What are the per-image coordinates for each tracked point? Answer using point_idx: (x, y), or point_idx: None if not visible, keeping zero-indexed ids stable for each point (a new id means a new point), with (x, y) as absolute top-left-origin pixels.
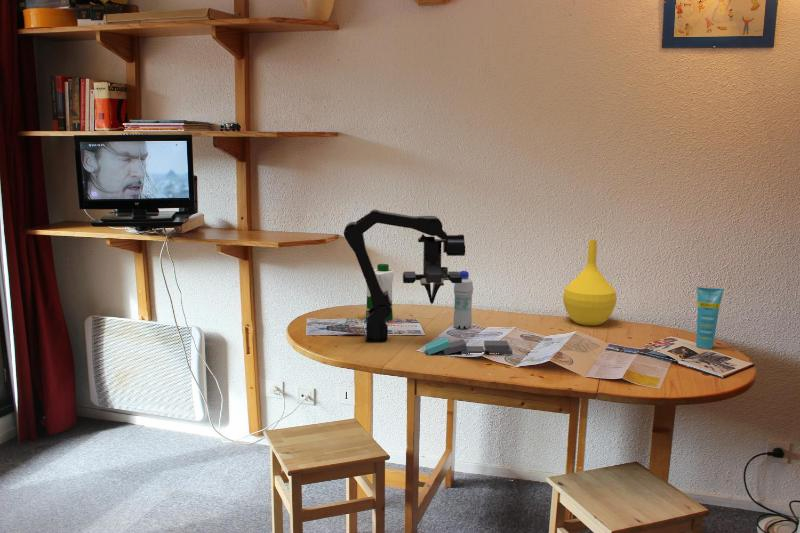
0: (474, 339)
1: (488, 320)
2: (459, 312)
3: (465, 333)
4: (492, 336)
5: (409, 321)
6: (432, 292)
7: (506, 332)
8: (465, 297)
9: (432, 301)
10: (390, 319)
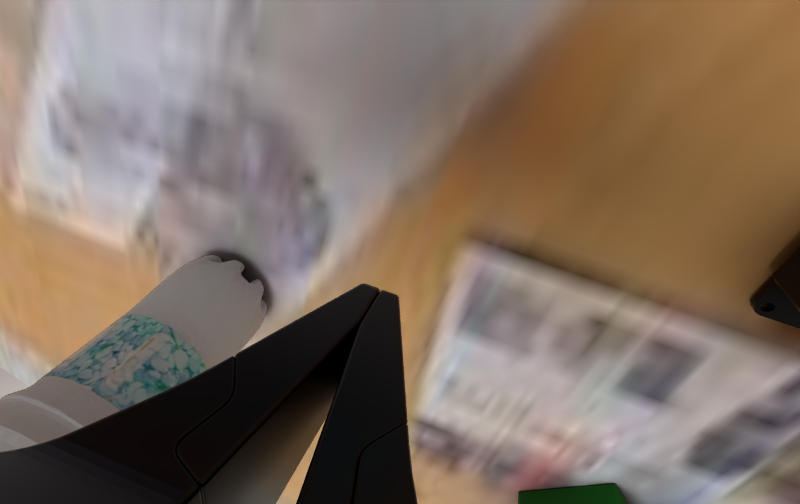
0: (190, 50)
1: None
2: (191, 323)
3: (231, 188)
4: (93, 83)
5: (453, 445)
6: (287, 460)
7: (34, 134)
8: (63, 384)
9: (362, 300)
10: (534, 494)
